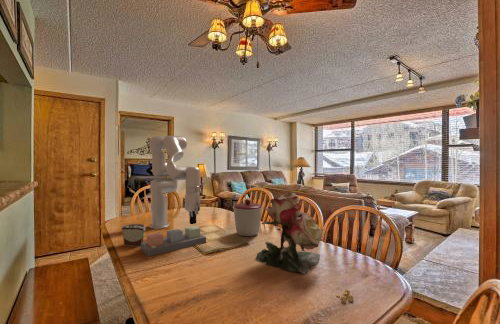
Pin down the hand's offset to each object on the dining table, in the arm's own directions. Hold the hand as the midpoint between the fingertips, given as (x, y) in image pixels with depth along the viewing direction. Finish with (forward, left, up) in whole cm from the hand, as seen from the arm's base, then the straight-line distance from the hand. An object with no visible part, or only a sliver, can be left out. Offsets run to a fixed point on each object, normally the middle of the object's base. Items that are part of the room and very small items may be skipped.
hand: (192, 223), depth 131 cm
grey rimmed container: (-15, -25, -10) cm, 31 cm away
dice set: (+80, +15, -11) cm, 82 cm away
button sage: (0, 0, -7) cm, 7 cm away
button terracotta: (0, -20, -7) cm, 21 cm away
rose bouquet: (+49, +25, -10) cm, 56 cm away
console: (0, -10, -10) cm, 14 cm away
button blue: (0, -10, -7) cm, 12 cm away
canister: (+8, +32, -10) cm, 34 cm away
